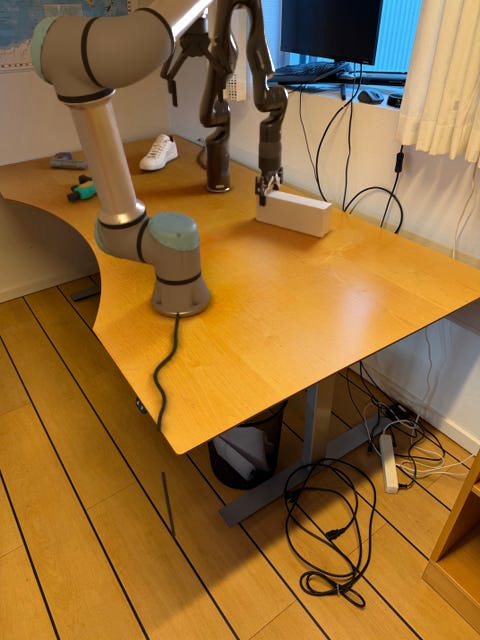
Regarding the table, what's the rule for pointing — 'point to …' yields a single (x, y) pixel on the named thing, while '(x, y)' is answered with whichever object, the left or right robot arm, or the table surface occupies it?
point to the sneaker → (160, 153)
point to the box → (295, 213)
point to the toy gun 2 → (82, 189)
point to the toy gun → (66, 161)
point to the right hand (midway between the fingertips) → (269, 201)
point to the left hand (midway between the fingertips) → (198, 104)
